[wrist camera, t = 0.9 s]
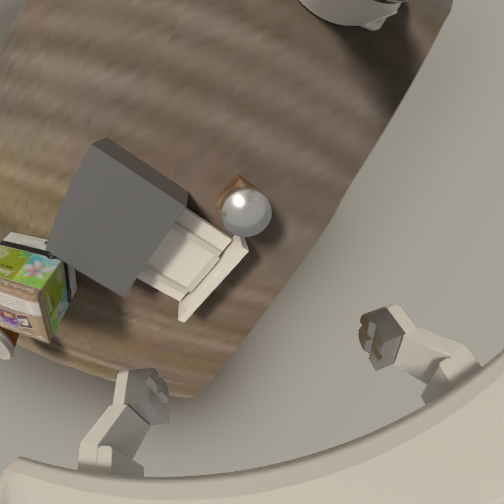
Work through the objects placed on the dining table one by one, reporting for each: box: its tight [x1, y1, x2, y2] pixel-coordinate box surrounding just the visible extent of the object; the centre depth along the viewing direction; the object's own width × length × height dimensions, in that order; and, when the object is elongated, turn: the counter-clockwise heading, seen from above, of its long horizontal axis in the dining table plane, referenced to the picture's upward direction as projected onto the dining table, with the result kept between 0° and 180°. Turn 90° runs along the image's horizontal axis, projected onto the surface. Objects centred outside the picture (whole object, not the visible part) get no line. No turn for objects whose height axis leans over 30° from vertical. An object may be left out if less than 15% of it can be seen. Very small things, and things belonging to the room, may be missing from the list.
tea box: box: [0, 232, 77, 343], centre depth 33 cm, size 15×10×15 cm
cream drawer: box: [137, 208, 249, 322], centre depth 41 cm, size 17×15×5 cm
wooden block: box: [217, 174, 256, 214], centre depth 39 cm, size 5×5×5 cm
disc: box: [221, 186, 272, 237], centre depth 36 cm, size 6×6×2 cm
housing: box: [46, 137, 189, 297], centre depth 36 cm, size 18×15×6 cm
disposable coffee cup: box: [0, 326, 19, 360], centre depth 39 cm, size 10×10×12 cm
